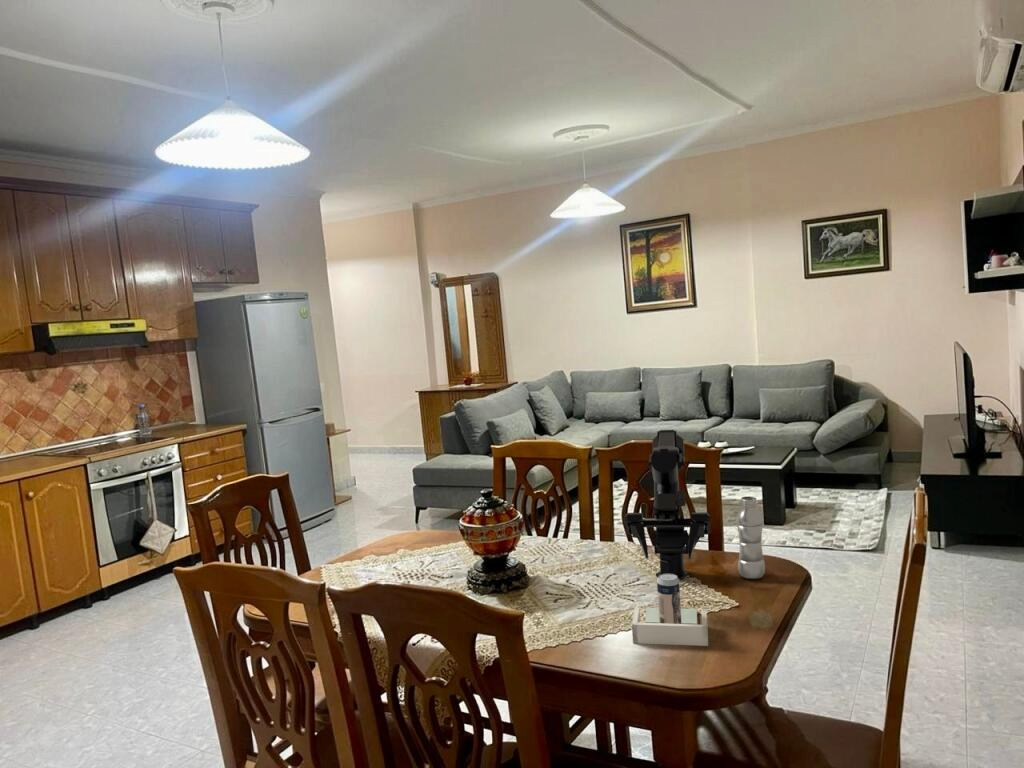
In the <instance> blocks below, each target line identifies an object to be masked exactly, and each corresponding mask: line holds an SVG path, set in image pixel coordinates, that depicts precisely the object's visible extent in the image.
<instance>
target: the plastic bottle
mask: <svg viewBox="0 0 1024 768" xmlns="http://www.w3.org/2000/svg"><path fill="white" fill-rule="evenodd" d="M740 500H741V501H740V506H741V508H740V510H739V511H738V512H737V515H736V518H735V519H736V526H737V532H738V533H737V534H738V538H739V556H738V562H737V568H738V569H737V570H738V573H739V574H740V576H741V577H743V578H745V579H750V580H757V579H760V578H763V576H764V575H765V572H766V564H765V560H764V554H763V547H762V541H763V540H762V539H763V538H762V537H763V535H762V534H763V526H764V519H763V516H762V513H761V512H760V511H759V509H758V508H757V506H758V503H757V497H755V496H749V495H748V496H742V497H741V498H740Z"/></svg>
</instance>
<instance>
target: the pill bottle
mask: <svg viewBox="0 0 1024 768" xmlns="http://www.w3.org/2000/svg"><path fill="white" fill-rule="evenodd" d="M656 585H657V586H656V589H657V605H658V607H657V608H658V610H659V623H666V624H681V609H682V608H681V606H682V605H681V593H680V592H681V589H680V588H681V587H680V579H678V577H677V576H676V575H674V574H661V575H659V576H657V579H656Z"/></svg>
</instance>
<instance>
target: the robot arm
mask: <svg viewBox="0 0 1024 768" xmlns="http://www.w3.org/2000/svg"><path fill="white" fill-rule="evenodd" d="M656 432H657V434H656V436H655V437H654V438H653V439H652V442H651V443H652V452H651V454H649V456H648V457H649V459H648V467H649V470H651V472H652V479H653V493H654V494H653V495H654V496H653V497H654V501H653V504H652V505H653V506H652V508H653V512H652V513H653V516H654V518H644V516H643V512H627V513H626V514H625V515H624V526H625V529H626V530H625V531H626V534H628V535H632V538H636V539H637V541H638V542H639V544H640V546H641V548H642V549H641V550H642V551H643V554H644V557H645V559H646V560H647V559H649V551H648V550H649V549H648V544H647V539H646V538H647V537H646V532H645V528H655V529H653V549H654V554H655V555H658V554H659V568H660V570H659V571H658V572H656V573H655V577H659V575H661V574H674V575H676V576H677V577H678V579H679V580H681V579H682V578H684V577H686V576H687V575H690V573H691V571H690V570H685V555H688V560H691V559H692V556H693V554H694V550H695V547H696V545H697V544H698V542H699V540H700V539H703V538H705V536H706V535H707V536H708V535H710V534H711V518H710V514H709V513H708V512H706V511H704V512H695V511H694V512H691V518H685V517H684V518H683V516H682V515H681V510H680V509H681V508H680V507H686V491H685V490H680V481H679V473H680V469H683V467H686V466H685V465H686V464H685V443H684V440H685V439H684V438H682V436H680V435H679V434H677V430H674V429H661V430H657V431H656ZM685 528H689V532H688V530H687V529H685Z"/></svg>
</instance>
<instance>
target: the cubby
mask: <svg viewBox="0 0 1024 768" xmlns="http://www.w3.org/2000/svg"><path fill="white" fill-rule="evenodd" d="M700 610H701V624H699V623H697V624H666V623H645V622H641V612H640V611H641V609H640V606H634V610H633V616H632V621H631V630H632V631H631V633H632V644H639V645H641V644H643V645H644V644H645V645H670V646H671V645H672V646H673V645H674V646H697V647H700V646H701V647H709V632H708V631H709V628H708V616H707V608H701V609H700Z"/></svg>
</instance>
